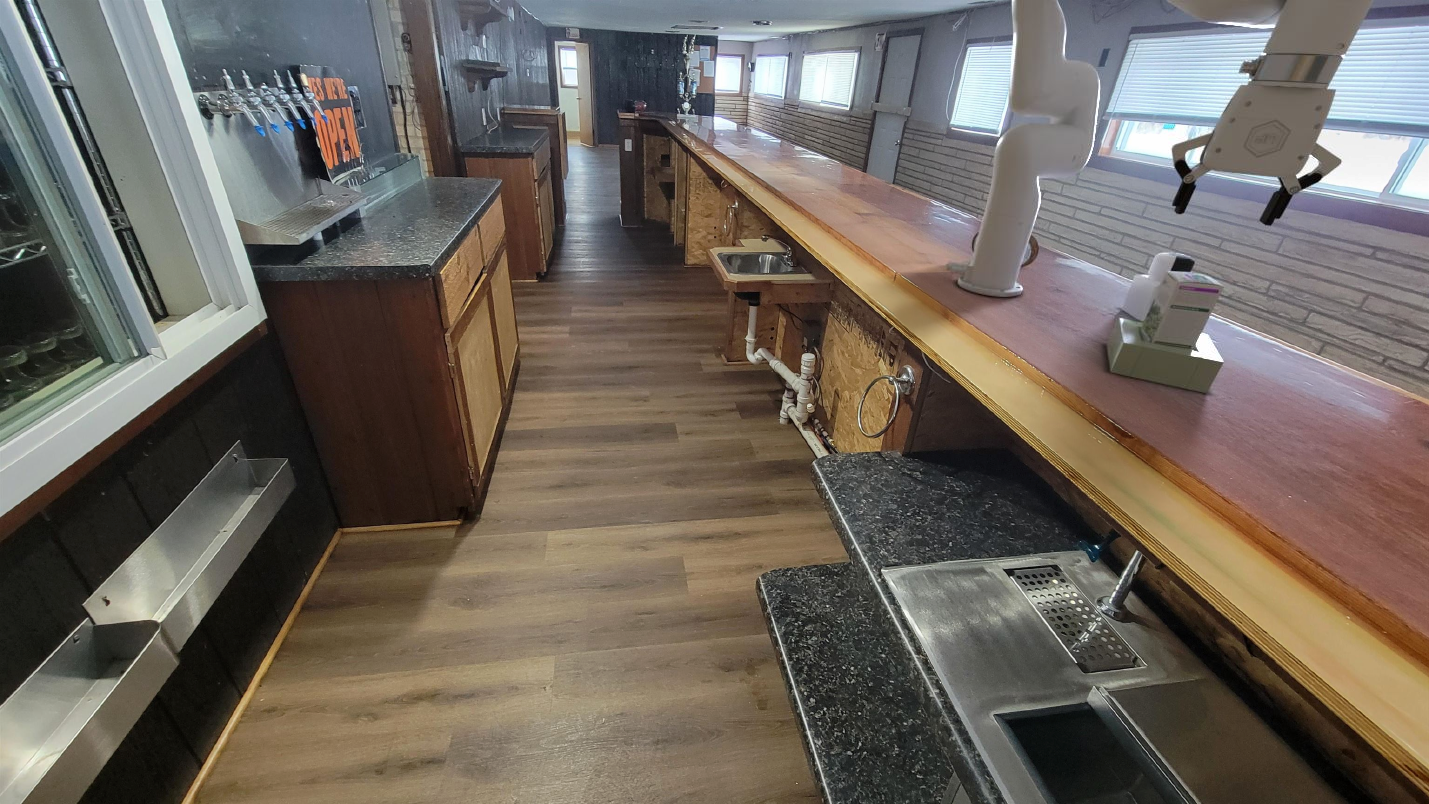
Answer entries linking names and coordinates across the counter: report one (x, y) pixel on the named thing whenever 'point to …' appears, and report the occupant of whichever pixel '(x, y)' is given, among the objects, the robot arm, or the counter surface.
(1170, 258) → the medicine bottle
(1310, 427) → the counter surface
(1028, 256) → the tin
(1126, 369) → the socket block
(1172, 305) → the syrup box
